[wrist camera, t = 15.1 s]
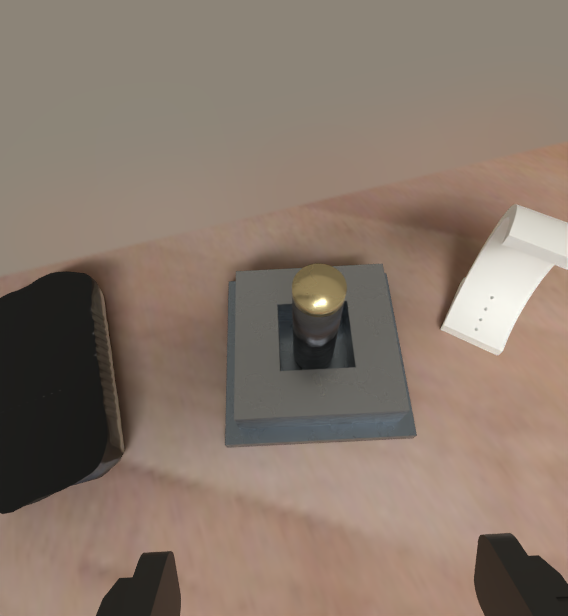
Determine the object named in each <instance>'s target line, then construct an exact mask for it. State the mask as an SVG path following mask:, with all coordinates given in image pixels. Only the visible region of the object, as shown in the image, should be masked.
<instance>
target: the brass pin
mask: <svg viewBox="0 0 568 616" xmlns="http://www.w3.org/2000/svg"><path fill="white" fill-rule="evenodd" d="M346 292H347V284H346V280H345V278H344V276H343V275H342V274H341V272H340V271H338V270H337V269H336V268H334V267H332V266H330V265H326V264H311V265H308V266H306V267H304V268H302V269H301V270H300V271H298V273H297V274H296V275H295V277H294V279H293V282H292V313H293V355H294V358H295V360H296V362H297V363H298V365H300V366H301V367H302V368H304V369H306V370H313V369H323V368H325V367H327V366H328V365H329V363H330V362H331V360H332V358H333V354H334V349H335V344H336V339H337V334H338V330H339V325H340V320H341V315H342V311H343V306H344V301H345V296H346Z"/></svg>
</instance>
